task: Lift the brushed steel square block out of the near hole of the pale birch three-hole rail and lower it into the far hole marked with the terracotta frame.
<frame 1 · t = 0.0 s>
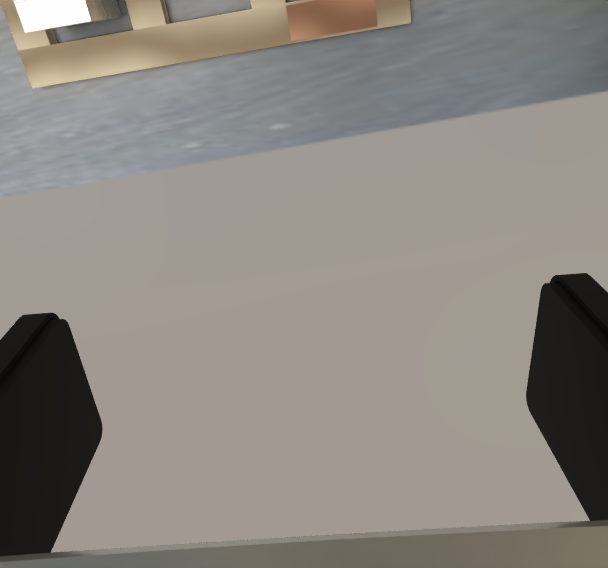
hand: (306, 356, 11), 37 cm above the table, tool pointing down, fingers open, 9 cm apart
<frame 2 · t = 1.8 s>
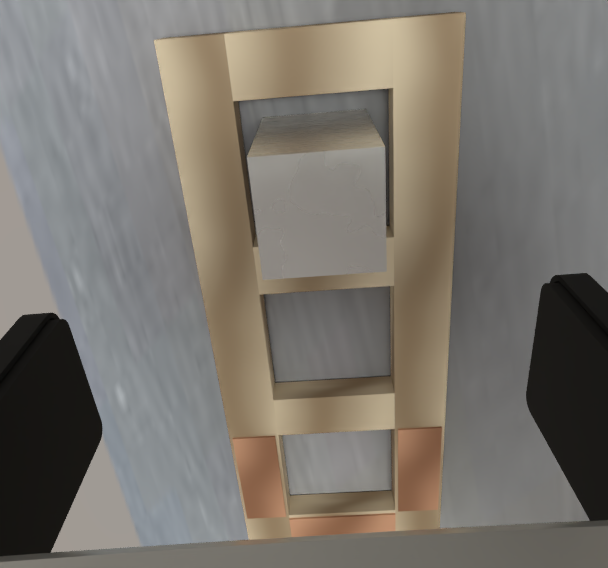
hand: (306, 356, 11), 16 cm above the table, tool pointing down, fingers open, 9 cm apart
steel block: (317, 163, 25), resting in hole rail
hole rail: (329, 330, 29), on the table
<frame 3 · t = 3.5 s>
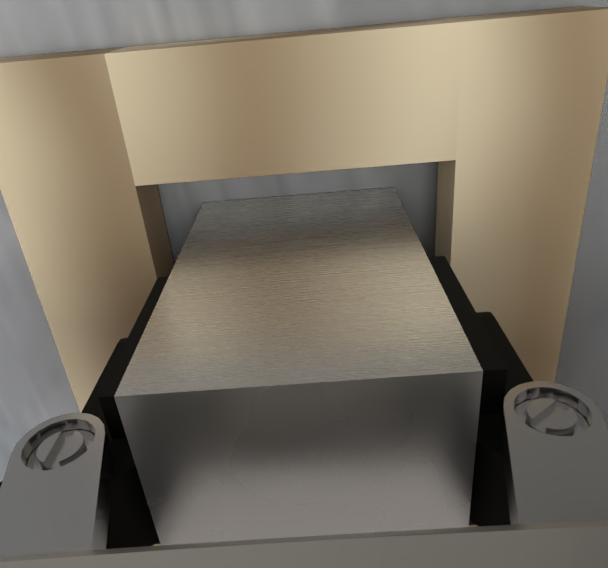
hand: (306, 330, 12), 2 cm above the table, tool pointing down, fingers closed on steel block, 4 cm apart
steel block: (305, 279, 14), resting in hole rail, touching gripper
hole rail: (327, 519, 18), on the table
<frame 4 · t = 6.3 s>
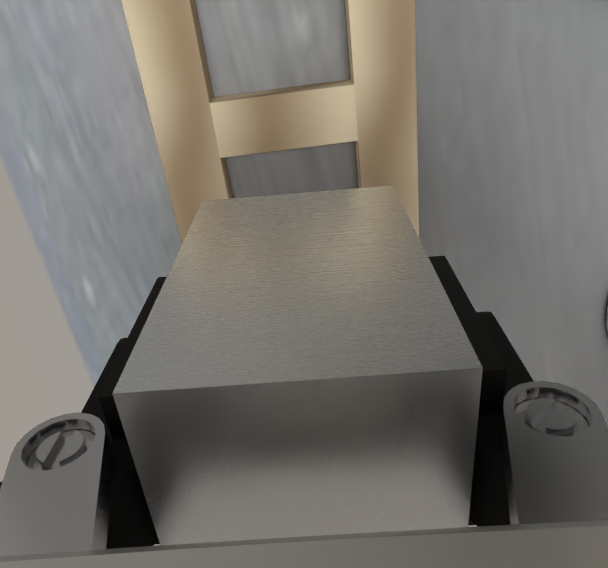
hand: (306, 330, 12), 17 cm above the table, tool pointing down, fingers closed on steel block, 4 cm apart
steel block: (304, 277, 14), point 15 cm above the table, touching gripper
hole rail: (297, 203, 28), on the table
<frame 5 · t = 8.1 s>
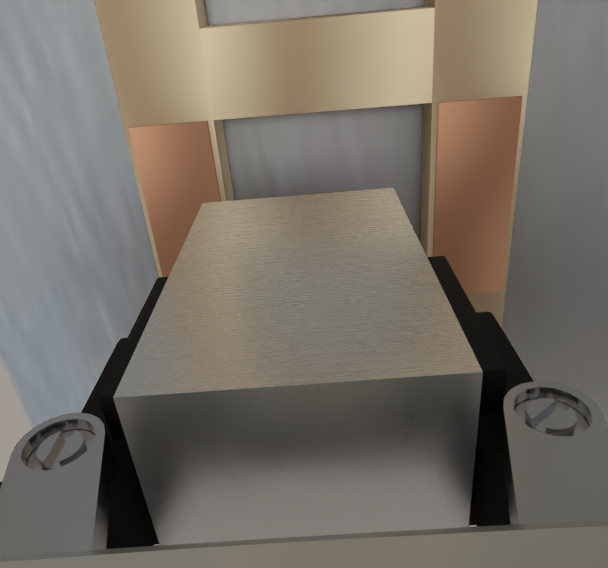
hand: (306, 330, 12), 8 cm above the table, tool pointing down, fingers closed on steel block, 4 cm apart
steel block: (305, 279, 14), point 6 cm above the table, touching gripper
when the fingers open (3 cm above the table, at t = 9.3 s): steel block stays where it is, resting in hole rail.
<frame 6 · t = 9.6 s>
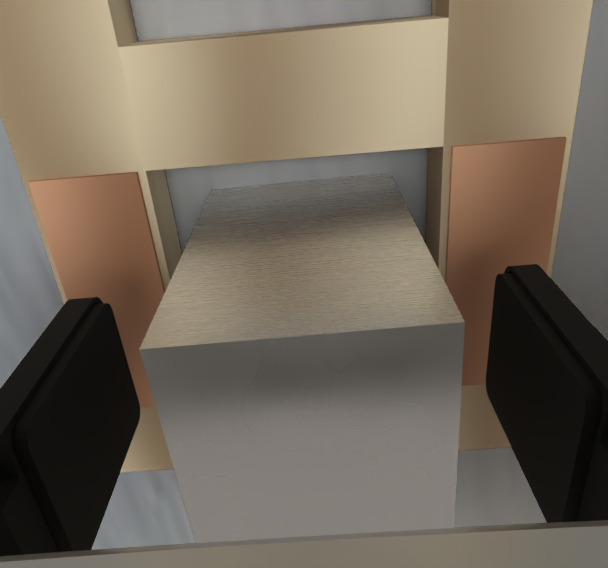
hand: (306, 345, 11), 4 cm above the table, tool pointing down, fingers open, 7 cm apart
steel block: (308, 261, 15), resting in hole rail
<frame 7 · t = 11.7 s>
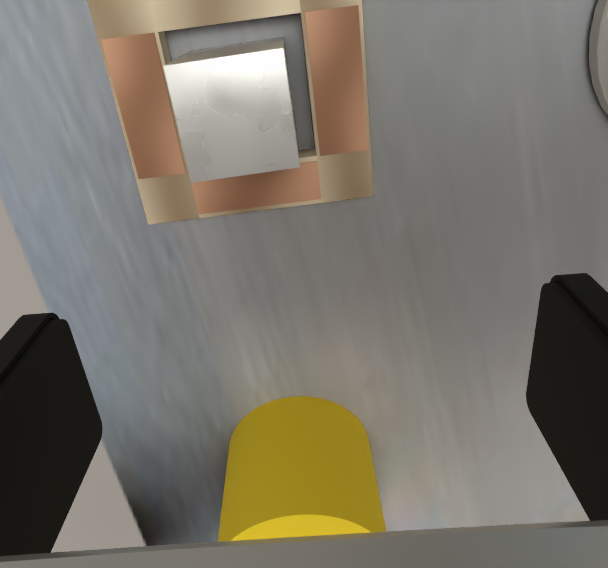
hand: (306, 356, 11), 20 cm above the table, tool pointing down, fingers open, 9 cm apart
steel block: (245, 92, 27), resting in hole rail
tape roll: (299, 449, 39), on the table
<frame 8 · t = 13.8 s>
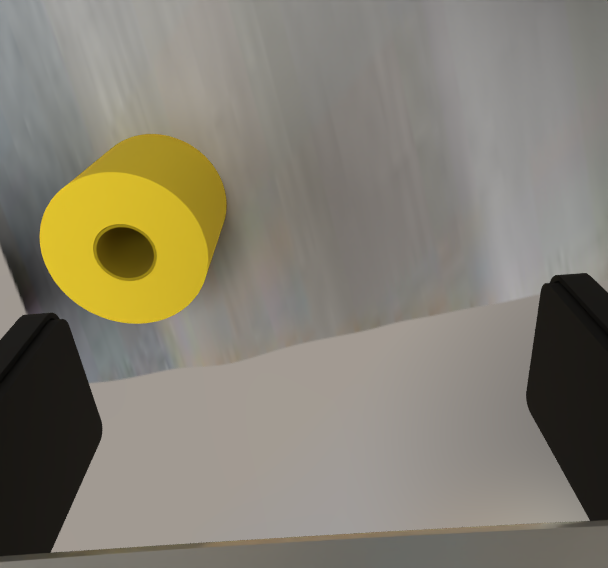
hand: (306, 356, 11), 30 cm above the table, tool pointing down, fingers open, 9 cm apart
tape roll: (160, 200, 41), on the table
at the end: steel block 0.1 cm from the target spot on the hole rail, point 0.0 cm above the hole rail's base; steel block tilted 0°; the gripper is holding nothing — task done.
